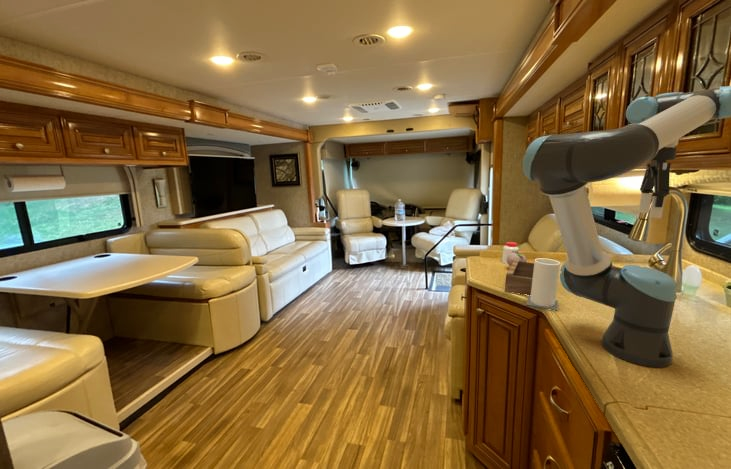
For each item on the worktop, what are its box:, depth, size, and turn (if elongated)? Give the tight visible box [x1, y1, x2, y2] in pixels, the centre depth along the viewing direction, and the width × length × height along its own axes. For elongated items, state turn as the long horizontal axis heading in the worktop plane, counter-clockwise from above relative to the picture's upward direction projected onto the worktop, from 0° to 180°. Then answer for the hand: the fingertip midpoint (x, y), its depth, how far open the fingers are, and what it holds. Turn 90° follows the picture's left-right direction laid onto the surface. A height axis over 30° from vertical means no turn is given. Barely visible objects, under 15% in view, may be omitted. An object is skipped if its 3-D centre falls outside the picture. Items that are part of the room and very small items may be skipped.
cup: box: [530, 257, 561, 307], centre depth 122 cm, size 8×8×16 cm
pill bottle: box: [501, 241, 520, 265], centre depth 176 cm, size 8×8×11 cm
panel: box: [525, 295, 559, 312], centre depth 124 cm, size 10×10×1 cm
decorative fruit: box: [507, 250, 528, 267], centre depth 164 cm, size 9×8×10 cm
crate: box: [504, 259, 534, 295], centre depth 142 cm, size 26×16×8 cm, turn 150°
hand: (649, 215), depth 106 cm, fingers open, 13 cm apart
